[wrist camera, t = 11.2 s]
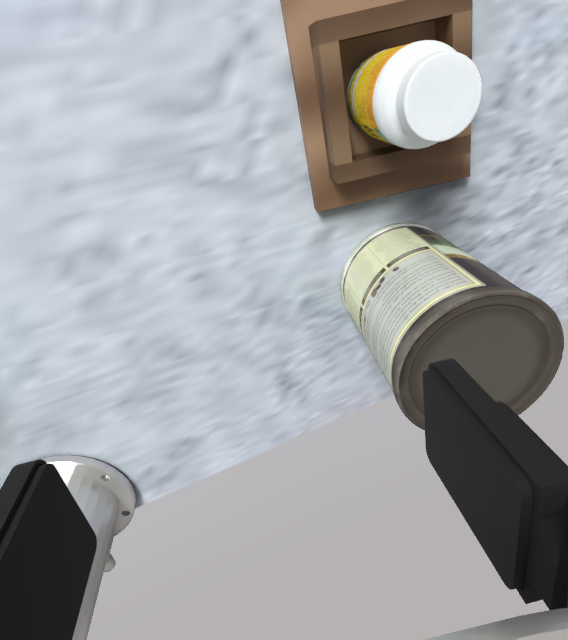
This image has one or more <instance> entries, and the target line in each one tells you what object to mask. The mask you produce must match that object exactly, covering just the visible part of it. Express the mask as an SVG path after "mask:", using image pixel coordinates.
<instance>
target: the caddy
mask: <svg viewBox="0 0 568 640" xmlns="http://www.w3.org/2000/svg"><path fill="white" fill-rule="evenodd" d="M280 1H281V7H282V13H283V19H284V25H285V32H286V38H287V44H288V50H289V56H290V62H291V68H292V74H293V80H294V86H295V92H296V98H297V104H298V110H299V116H300V122H301V128H302V134H303V140H304V146H305V152H306V158H307V164H308V170H309V176H310V182H311V188H312V194H313V201H314V207H315V209H316V210H317V212H320V211H324V210H328V209H333V208H337V207H341V206H345V205H350V204H354V203H358V202H362V201H367V200H371V199H375V198H380V197H384V196H388V195H392V194H397V193H401V192H405V191H409V190H414V189H418V188H422V187H426V186H431V185H435V184H439V183H443V182H448V181H452V180H456V179H460V178H465V177H469V176H470V143H471V123H470V124H469V125H468V126H467V127H466V128H465V129H464V130H463V131H462V132H461V133H460V134H458V135H457V136H455V137H453V138H451V139H448V140H445V141H442V142H438V143H436V144H434V145H431V146H429V147H426V148H421V149H405V148H402V147H399V146H396V145H393V144H390V143H388V142H385V141H382V140H379V139H376V138H373V137H371V136H368V135H366V134H364V133H363V132H362V131H360V130H359V129H358V128H357V126H356V125H355V124H354V122H353V120H352V118H351V116H350V114H349V110H348V106H347V92H348V87H349V83H350V81H351V78H352V76H353V74H354V72H355V71H356V69H357V68H358V67H359V66H360V64H361V63H362V62H363V61H364V60H366V59H367V58H368V57H370V56H371V55H373V54H374V53H377V52H379V51H382V50H386V49H390V48H394V47H398V46H402V45H406V44H409V43H413V42H417V41H423V40H435V41H439V42H443V43H445V44H447V45H449V46H451V47H452V48H453V49H455V50H456V51H457V52H459V53H461V54H464V55H465V56H467V57H468V58H470V59H471V60H472V0H280Z"/></svg>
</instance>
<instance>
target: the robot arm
mask: <svg viewBox="0 0 568 640" xmlns="http://www.w3.org/2000/svg"><path fill="white" fill-rule="evenodd" d="M423 396H424V417H425V437H426V451H427V455H428V458H429V460H430V462H431V464H432V466H433V467H434V469H435V471H436V472H437V474H438V476H439V477H440V479H441V481H442V482H443V484H444V486H445V487H446V489H447V490H448V492H449V494H450V495H451V497H452V499H453V500H454V502H455V503H456V505H457V507H458V508H459V510H460V512H461V513H462V515H463V517H464V518H465V520H466V522H467V523H468V525H469V526H470V528H471V530H472V531H473V533H474V535H475V536H476V538H477V540H478V541H479V543H480V544H481V546H482V547H483V549H484V551H485V553H486V554H487V556H488V557H489V559H490V561H491V562H492V564H493V566H494V567H495V569H496V571H497V572H498V574H499V575H500V577H501V579H502V580H503V582H504V583H505V585H506V586H507V587H508V588H509V589H515V588H516V589H517V591H518V592H519V594H520V595H521V597H522V598H523V600H524V602H525V603H526V604H528V603H531V602H535V601H539V600H542V599H543V601H544V602H545V603H546V605H547V607H548V608H549V611H544V612H539V613H533V614H528V615H523V616H517V617H514V618H510V619H506V620H502V621H498V622H493V623H489V624H486V625H481V626H477V627H474V628H469V629H465V630H461V631H457V632H453V633H449V634H445V635H441V636H437V637H434V638H430V639H426V640H568V466H567V465H566V464H565V463H564V462H563V461H562V460H561V459H560V458H559V457H558V456H557V455H556V454H555V453H554V452H553V451H552V450H551V449H550V448H549V447H548V446H547V445H546V444H545V443H544V442H543V441H542V439H540V438H539V436H537V434H536V433H534V431H532V430H531V428H530V427H529V426H528V425H526V423H525V422H524V421H523V420H522V419H521V418H519V416H518V415H517V414H516V413H515V412H514V411H513V410H512V409H511V408H510V407H509V406H507V405H506V404H505V403H503V402H500V401H498V402H495V401H494V400H493V399H492V398H491V397H490V396H489V395H488V393H487V392H486V391H485V390H484V389H483V388H482V387H481V386H480V385H479V384H478V383H477V382H476V381H475V380H474V379H473V378H472V377H471V376H470V375H469V374H468V373H467V372H466V371H465V370H464V369H463V367H462V366H461V365H460V364H459V363H458V362H457V361H456V360H454V359H453V358H450V359H446V360H441V361H437V362H433V363H430V364H429V366H428V370H425V371H423ZM135 505H136V496H135V492H134V489H133V487H132V485H131V483H130V482H129V481H128V479H127V478H126V477H125V476H124V475H123V474H122V473H120V472H119V471H118V470H116V469H115V468H113V467H111V466H109V465H108V464H106V463H104V462H101V461H98V460H95V459H92V458H87V457H82V456H71V455H63V456H52V457H47V458H42V459H39V460H35V461H31V462H27V463H23V464H19V465H16V466H14V467H13V469H12V470H11V472H10V473H9V475H8V477H7V479H6V481H5V482H4V484H3V486H2V488H1V489H0V640H86V639H87V634H88V631H89V626H90V623H91V619H92V615H93V611H94V607H95V603H96V599H97V595H98V591H99V587H100V583H101V579H102V575H103V571H105V572H108V571H111V570H112V569H113V568H114V566H115V560H114V559H113V557H112V556H111V554H110V549H111V545H112V541H113V537H114V536H115V535H117V534H118V533H120V532H121V531H122V530H123V529H124V528H125V527H126V526H127V525H128V524H129V522H130V521H131V518H132V517H133V514H134V510H135Z"/></svg>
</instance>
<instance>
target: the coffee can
mask: <svg viewBox="0 0 568 640" xmlns="http://www.w3.org/2000/svg"><path fill="white" fill-rule="evenodd" d="M341 294H342V300H343V303H344V306H345V308H346V309H347V311H348V313H349V314H350V315H351V316H352V318H353V320H354V322H355V323H356V325H357V327H358V329H359V331H360V333H361V334H362V336H363V338H364V340H365V341H366V343H367V345H368V347H369V348H370V350H371V352H372V354H373V356H374V357H375V359H376V361H377V363H378V365H379V366H380V368H381V370H382V372H383V374H384V375H385V377H386V379H387V381H388V382H389V384H390V386H391V388H392V389H393V392H394V395H395V398H396V401H397V403H398V405H399V407H400V409H401V410H402V412H403V413H404V415H405V416H406V417H407V418H408V419H409V420H410V421H411V422H412V423H413V424H415V425H416V426H418V427H419V428H421V429H423V430H425V417H424V396H423V371H425V370H428V366H429V364H430V363H433V362H437V361H441V360H446V359H450V358H453V359H454V360H456V361H457V362H458V363H459V364H460V365H461V366H462V367H463V369H464V370H465V371H466V372H467V373H468V374H469V375H470V376H471V377H472V378H473V379H474V380H475V381H476V382H477V383H478V384H479V385H480V386H481V387H482V388H483V389H484V390H485V391H486V392H487V393H488V395H489V396H490V397H491V398H492V399H493V400H494V401H495V402H498V401H500V402H503V403H505V404H506V405H507V406H509V407H510V408H511V409H512V410H513V411H514V412H515V413H516V414H517V415H519V414H521V413H522V412H523V411H525V410H526V409H527V408H528V407H529V406H530V405H532V404H533V403H534V402H535V401H536V400H537V399H538V398H539V397H540V396H541V395H542V394H543V392H544V391H545V390H546V388H547V387H548V386H549V384H550V383H551V381H552V380H553V378H554V376H555V374H556V372H557V370H558V367H559V365H560V362H561V358H562V352H563V348H564V337H563V330H562V326H561V323H560V321H559V319H558V317H557V315H556V314H555V312H554V311H553V310H552V309H551V308H550V307H549V306H548V305H547V304H546V303H545V302H544V301H542V300H541V299H539V298H537V297H536V296H534V295H532V294H530V293H528V292H526V291H523V290H521V289H520V288H518V287H517V286H515V285H514V284H512V283H510V282H509V281H507V280H506V279H504V278H503V277H501V276H500V275H498V274H497V273H495V272H494V271H492V270H491V269H489V268H488V267H486V266H485V265H483V264H482V263H480V262H479V261H477V260H476V259H474V258H473V257H471V256H470V255H468V254H467V253H465V252H464V251H462V250H461V249H459V248H458V247H456V246H455V245H453V244H452V243H450V242H449V241H447V240H446V239H444V238H443V237H442V236H441V235H439V234H438V233H437V232H436V231H434V230H432V229H431V228H428V227H426V226H423V225H419V224H411V223H401V224H395V225H391V226H388V227H385V228H382V229H380V230H378V231H376V232H375V233H373V234H371V235H370V236H368V237H367V238H366V239H365V240H363V241H362V242H361V243H360V244H359V245H358V246H357V247H356V248H355V250H354V251H353V253H352V254H351V255H350V257H349V259H348V260H347V263H346V265H345V267H344V270H343V274H342V279H341Z"/></svg>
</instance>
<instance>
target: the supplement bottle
mask: <svg viewBox="0 0 568 640" xmlns="http://www.w3.org/2000/svg"><path fill="white" fill-rule="evenodd" d="M481 96H482V81H481V76H480V73H479V70H478V68H477V67H476V65H475V64H474V62H473V61H472V60H471V59H470V58H468V57H467V56H465V55H464V54H461V53H459V52H457V51H456V50H455V49H453V48H452V47H451V46H449V45H447V44H445V43H443V42H439V41H435V40H423V41H417V42H413V43H409V44H406V45H402V46H398V47H394V48H390V49H386V50H382V51H379V52H377V53H374V54H373V55H371V56H370V57H368V58H367V59H366V60H364V61H363V62H362V63H361V64H360V66H359V67H358V68H357V69H356V71H355V72H354V74H353V76H352V78H351V81H350V83H349V87H348V92H347V106H348V110H349V114H350V116H351V118H352V120H353V122H354V124H355V125H356V126H357V128H358V129H359V130H360V131H362V132H363V133H364V134H366V135H368V136H371V137H373V138H376V139H379V140H382V141H385V142H388V143H390V144H393V145H396V146H399V147H402V148H405V149H421V148H426V147H429V146H431V145H434V144H436V143H438V142H442V141H445V140H448V139H451V138H453V137H455V136H457V135H458V134H460V133H461V132H462V131H463V130H464V129H465V128H466V127H467V126H468V125H469V124H470V123H471V121H472V120H473V118H474V116H475V114H476V112H477V110H478V108H479V105H480V101H481Z"/></svg>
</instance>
